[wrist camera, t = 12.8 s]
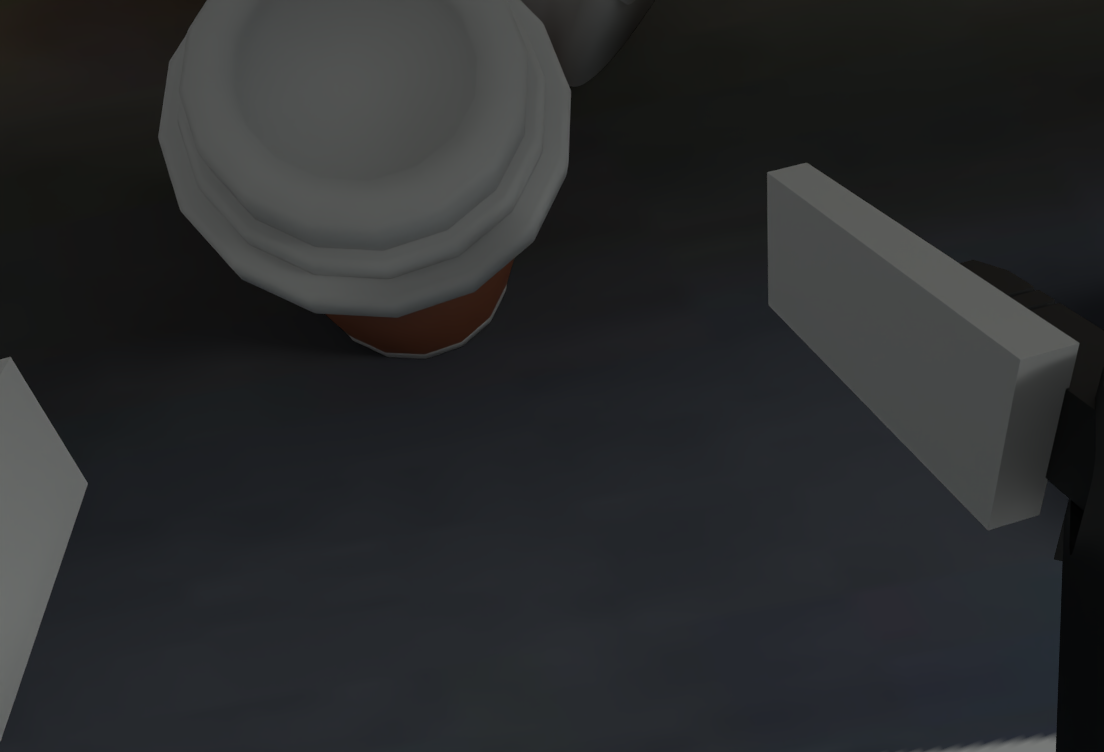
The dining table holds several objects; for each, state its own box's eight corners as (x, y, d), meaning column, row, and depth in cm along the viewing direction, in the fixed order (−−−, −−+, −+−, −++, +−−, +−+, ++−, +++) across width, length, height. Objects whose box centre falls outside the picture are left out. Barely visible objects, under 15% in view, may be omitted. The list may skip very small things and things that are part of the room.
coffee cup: (264, 159, 29) (108, -106, 18) (526, 128, 30) (543, -144, 19) (290, 418, 28) (135, 314, 16) (568, 378, 28) (617, 251, 17)
